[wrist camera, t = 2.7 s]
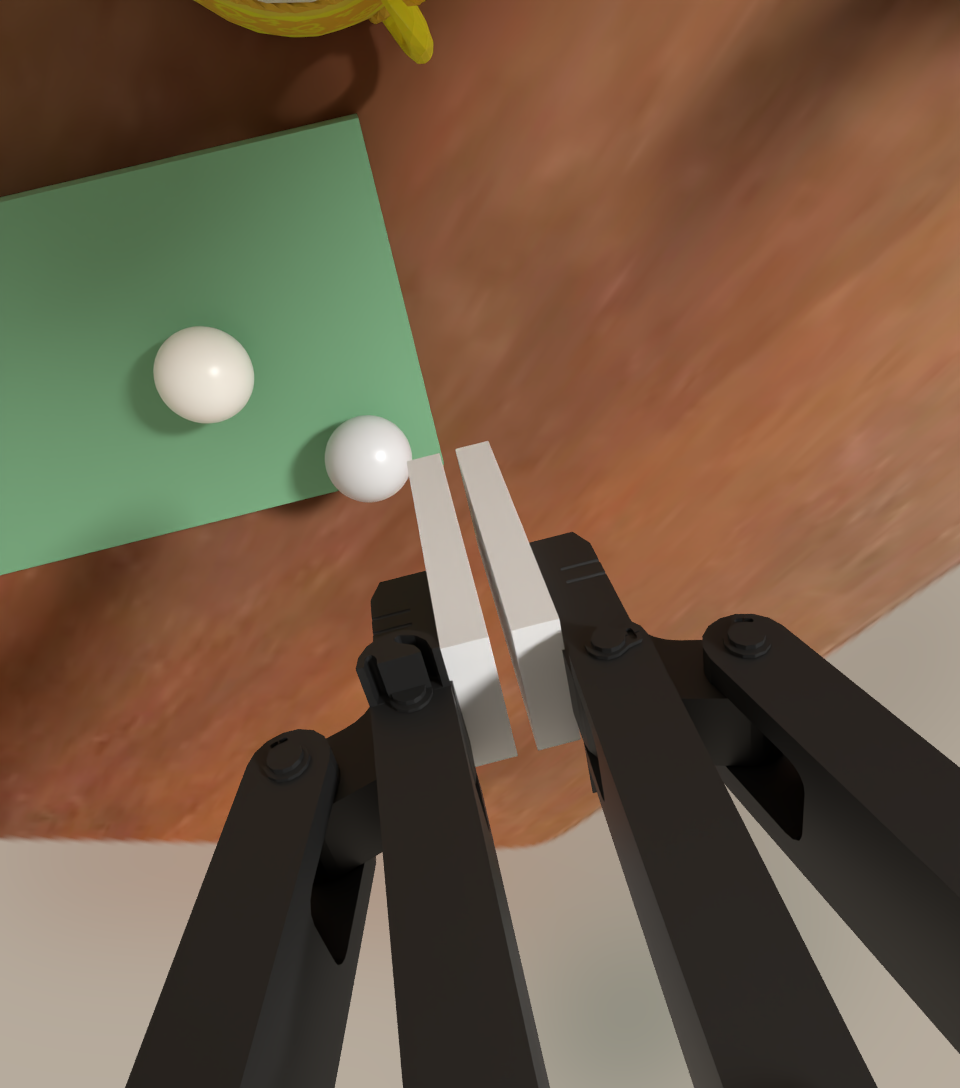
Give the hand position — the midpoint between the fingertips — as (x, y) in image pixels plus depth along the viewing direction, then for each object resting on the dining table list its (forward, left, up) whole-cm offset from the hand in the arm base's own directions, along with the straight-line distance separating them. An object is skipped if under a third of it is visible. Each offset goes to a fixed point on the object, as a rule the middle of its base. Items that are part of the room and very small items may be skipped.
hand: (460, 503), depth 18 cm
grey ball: (+5, -3, -14) cm, 15 cm away
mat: (0, -14, -18) cm, 23 cm away
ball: (0, -8, -14) cm, 16 cm away
